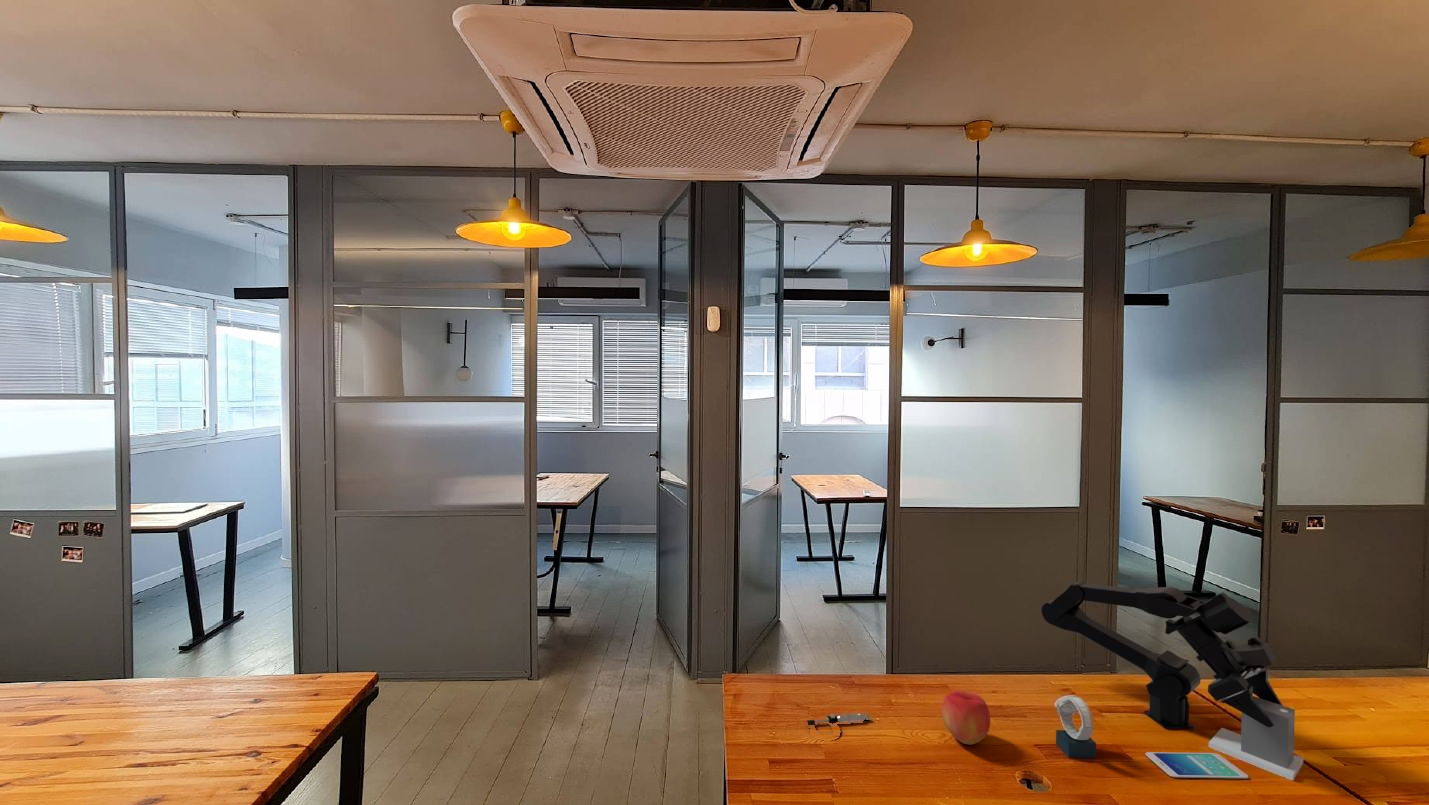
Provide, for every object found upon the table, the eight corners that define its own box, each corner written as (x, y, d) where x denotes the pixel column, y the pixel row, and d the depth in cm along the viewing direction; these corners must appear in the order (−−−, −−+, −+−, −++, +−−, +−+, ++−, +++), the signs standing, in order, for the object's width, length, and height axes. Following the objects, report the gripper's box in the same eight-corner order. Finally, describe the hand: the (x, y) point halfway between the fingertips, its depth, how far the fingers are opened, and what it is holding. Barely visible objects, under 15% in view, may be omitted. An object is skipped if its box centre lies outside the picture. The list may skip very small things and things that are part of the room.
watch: (1076, 739, 121) (1076, 688, 121) (1101, 763, 113) (1102, 709, 113) (1050, 738, 121) (1050, 688, 121) (1073, 763, 113) (1074, 709, 113)
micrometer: (814, 745, 120) (814, 733, 120) (803, 725, 127) (804, 714, 127) (880, 738, 122) (880, 727, 122) (867, 719, 129) (867, 708, 129)
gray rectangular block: (1240, 750, 115) (1241, 701, 115) (1248, 741, 118) (1249, 693, 118) (1287, 769, 110) (1288, 717, 110) (1293, 759, 113) (1294, 708, 113)
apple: (996, 757, 115) (996, 709, 115) (946, 751, 117) (947, 703, 117) (983, 729, 124) (984, 684, 124) (937, 724, 126) (938, 680, 126)
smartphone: (1251, 777, 108) (1171, 776, 109) (1251, 782, 108) (1171, 780, 109) (1217, 753, 116) (1143, 751, 116) (1217, 757, 116) (1143, 755, 116)
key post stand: (1208, 747, 118) (1209, 723, 118) (1221, 732, 123) (1222, 709, 123) (1292, 781, 108) (1293, 755, 108) (1303, 763, 113) (1303, 738, 113)
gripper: (1230, 638, 111) (1308, 720, 103) (1255, 616, 122) (1328, 688, 113) (1179, 661, 118) (1249, 740, 109) (1207, 639, 129) (1273, 709, 120)
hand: (1277, 718), depth 113 cm, fingers open, 9 cm apart
